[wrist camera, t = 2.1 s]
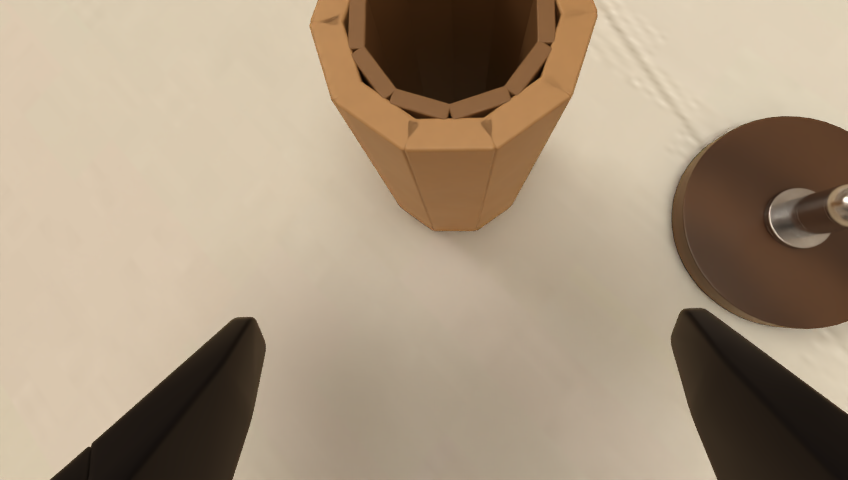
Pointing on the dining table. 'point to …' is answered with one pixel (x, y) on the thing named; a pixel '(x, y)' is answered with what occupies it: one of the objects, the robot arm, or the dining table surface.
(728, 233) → the brown peg stand
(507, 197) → the tan hollow tube
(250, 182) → the dining table surface
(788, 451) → the robot arm
